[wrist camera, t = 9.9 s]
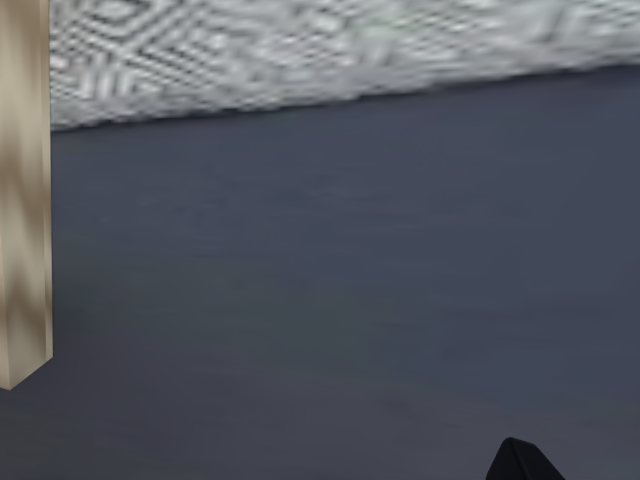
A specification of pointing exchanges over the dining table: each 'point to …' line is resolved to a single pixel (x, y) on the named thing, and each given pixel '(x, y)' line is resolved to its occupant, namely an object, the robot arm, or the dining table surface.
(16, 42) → the wooden compartment tray
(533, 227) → the dining table surface
